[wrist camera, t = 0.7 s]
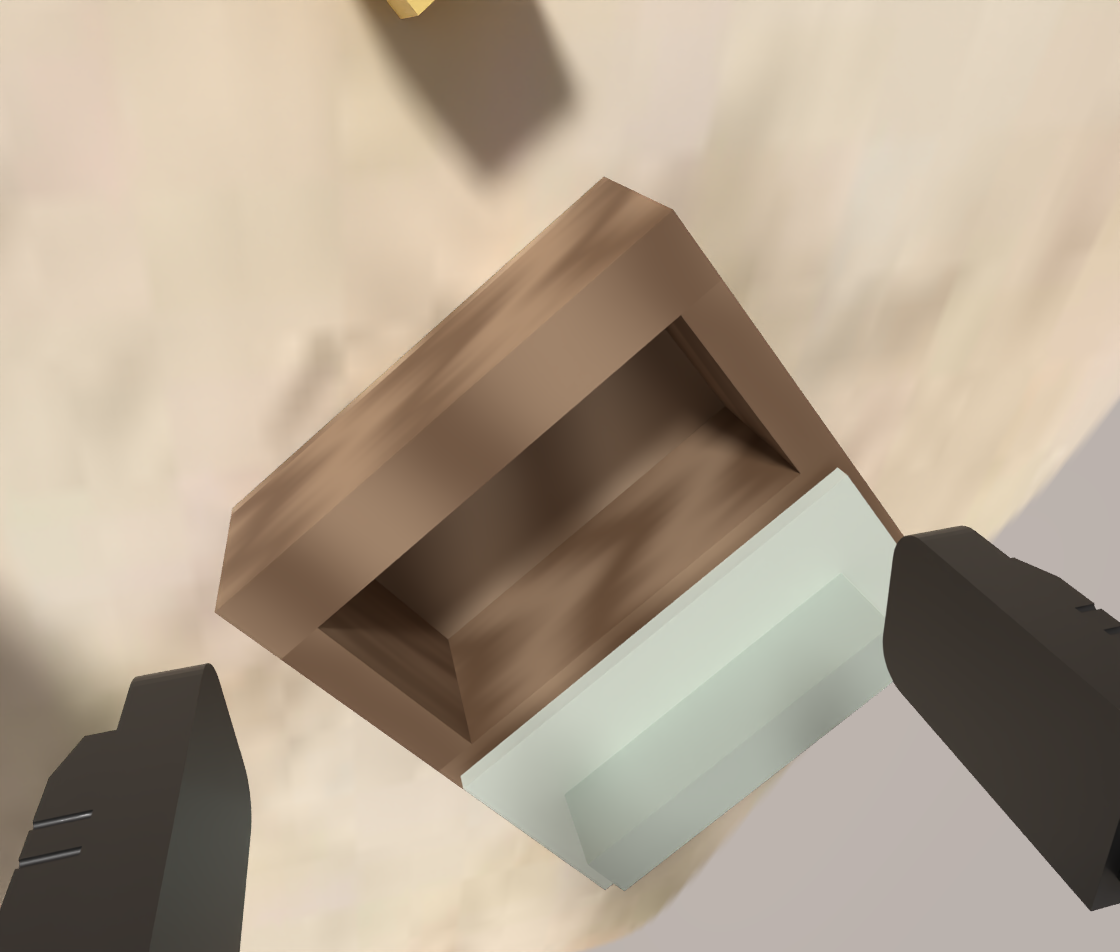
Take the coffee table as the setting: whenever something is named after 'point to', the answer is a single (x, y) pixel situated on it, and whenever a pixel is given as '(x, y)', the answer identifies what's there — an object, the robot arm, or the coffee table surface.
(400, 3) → the block
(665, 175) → the coffee table surface
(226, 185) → the coffee table surface
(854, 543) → the slide cover
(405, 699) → the brown square open box
